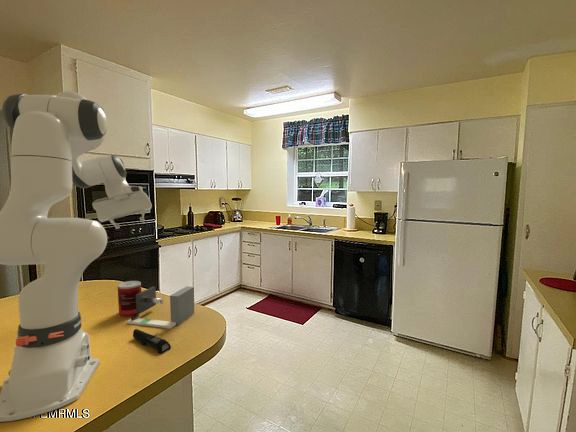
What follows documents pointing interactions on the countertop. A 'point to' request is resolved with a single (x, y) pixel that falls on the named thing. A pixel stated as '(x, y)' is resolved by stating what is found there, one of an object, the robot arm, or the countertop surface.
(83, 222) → the robot arm
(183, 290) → the push gauge
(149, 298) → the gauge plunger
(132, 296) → the canned food
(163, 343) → the electric trimmer
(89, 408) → the countertop surface
